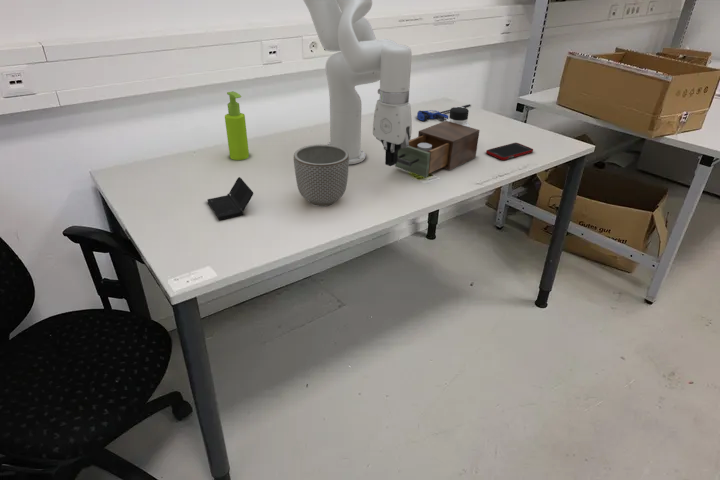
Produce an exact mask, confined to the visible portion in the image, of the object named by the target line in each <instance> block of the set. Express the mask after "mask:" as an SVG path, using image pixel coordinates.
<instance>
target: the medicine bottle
mask: <svg viewBox="0 0 720 480" xmlns="http://www.w3.org/2000/svg"><path fill="white" fill-rule="evenodd" d="M449 110H450V111H449V115H448V119H447V118H445V121H449V122H453V123H456V124H460V125H463V126H467V127H471V125H470V124H469V122H468V118H469V113H470V112H469V109H468V107H467V108H466V107H462V106H452V107H451V108H450V109H449Z"/></svg>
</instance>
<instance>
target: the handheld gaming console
mask: <svg viewBox="0 0 720 480" xmlns="http://www.w3.org/2000/svg"><path fill="white" fill-rule="evenodd" d="M254 193H255V192H254V191H253V190H252V189H251V188H250V187H249V186H248V184H247V183H246V182H245V181H244V180H243V179H242V177H240V176H239V177H237V178H236V180H235V182H234V184H233V185H232V187H231V189H230V190H229V192H228V193H227V194H226V195H222V196H217V197H211V198H208V199H207V204H208V205H209V206H210V208H211V210H212V212H213V213H214V214H215V216H216V217H217V219H218V220H219V221H223V220H226V219H231V218H236V217H240V216H243V215H244V211H245V209H246V207H247V206H248V204H249V202H250V201H251V199H252V197H253V196H254Z"/></svg>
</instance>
